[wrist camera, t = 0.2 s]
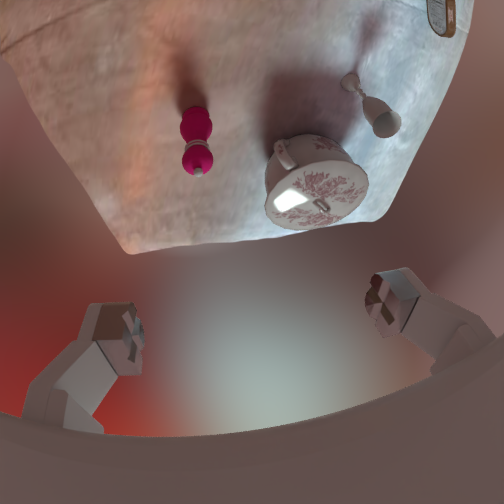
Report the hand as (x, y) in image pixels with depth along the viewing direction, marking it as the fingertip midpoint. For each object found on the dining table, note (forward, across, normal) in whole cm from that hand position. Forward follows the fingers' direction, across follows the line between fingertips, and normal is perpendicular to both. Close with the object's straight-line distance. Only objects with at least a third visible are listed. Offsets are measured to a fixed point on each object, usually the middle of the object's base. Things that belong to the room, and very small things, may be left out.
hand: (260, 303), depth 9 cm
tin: (+43, -48, -36) cm, 74 cm away
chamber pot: (+67, -25, +12) cm, 73 cm away
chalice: (+56, -33, -10) cm, 66 cm away
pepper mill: (+60, +3, 0) cm, 60 cm away
